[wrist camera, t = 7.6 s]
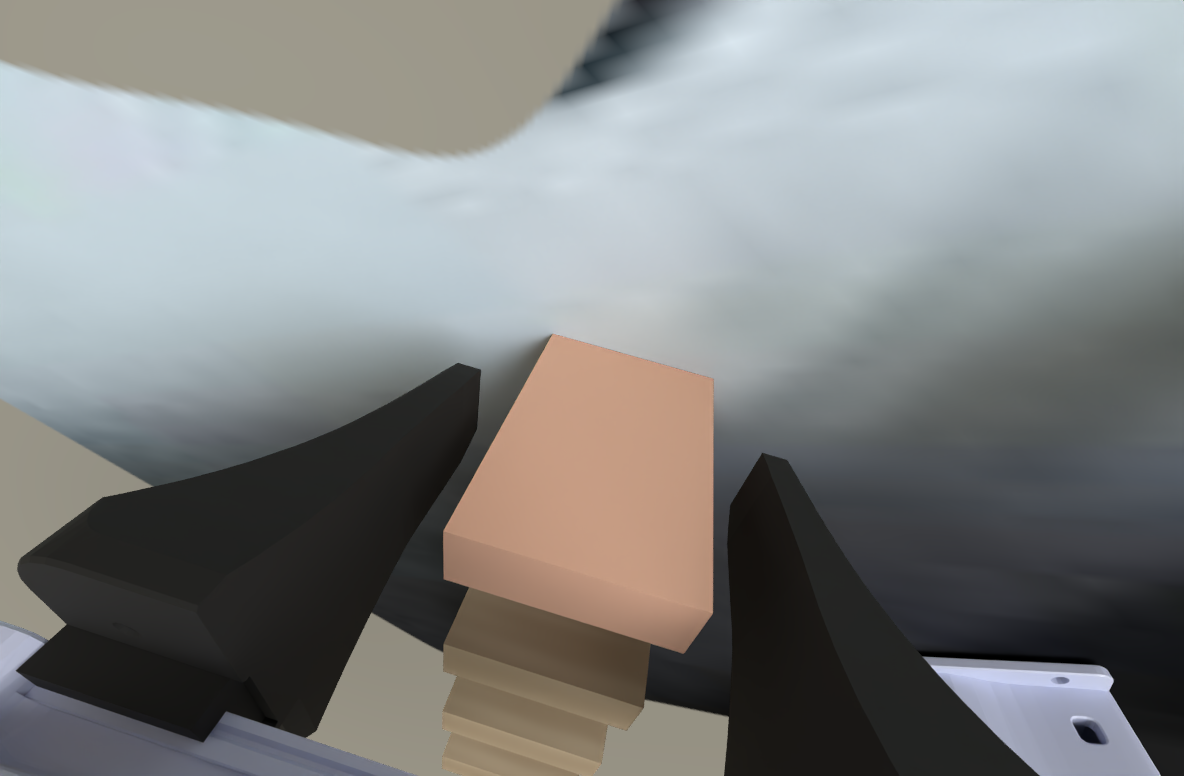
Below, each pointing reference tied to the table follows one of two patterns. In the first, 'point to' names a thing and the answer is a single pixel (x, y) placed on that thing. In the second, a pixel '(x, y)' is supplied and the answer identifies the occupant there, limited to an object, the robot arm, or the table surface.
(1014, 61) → the table surface
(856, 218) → the table surface
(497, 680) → the domino
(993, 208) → the table surface
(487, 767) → the domino
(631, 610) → the salmon orange block
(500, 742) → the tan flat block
